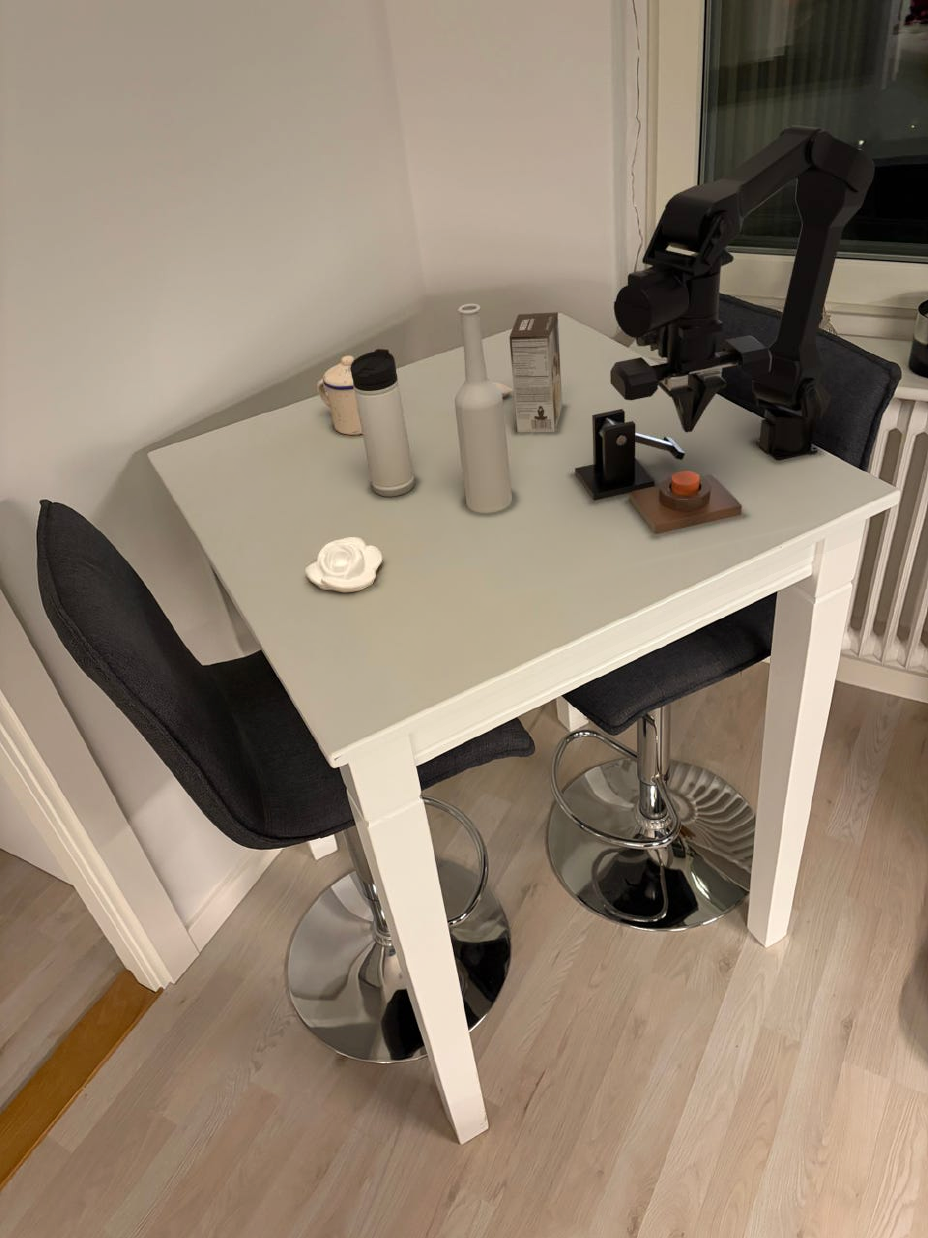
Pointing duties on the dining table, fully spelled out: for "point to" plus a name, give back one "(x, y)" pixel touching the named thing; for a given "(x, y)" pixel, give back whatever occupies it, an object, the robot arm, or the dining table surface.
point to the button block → (684, 505)
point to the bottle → (481, 425)
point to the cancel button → (685, 483)
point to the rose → (345, 565)
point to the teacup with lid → (341, 397)
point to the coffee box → (536, 372)
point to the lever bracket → (613, 460)
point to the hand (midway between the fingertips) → (687, 430)
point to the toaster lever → (651, 441)
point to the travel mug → (383, 422)
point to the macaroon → (503, 389)
